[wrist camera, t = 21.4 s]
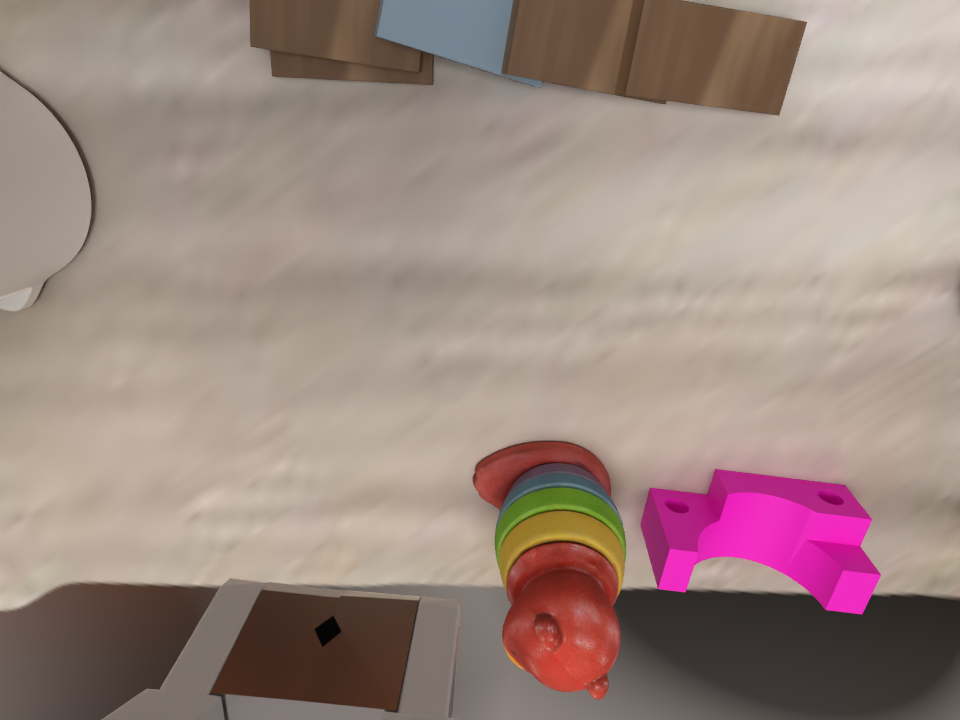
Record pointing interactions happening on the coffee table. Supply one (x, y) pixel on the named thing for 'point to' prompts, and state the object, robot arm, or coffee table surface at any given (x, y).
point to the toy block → (765, 534)
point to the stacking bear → (557, 561)
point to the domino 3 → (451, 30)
